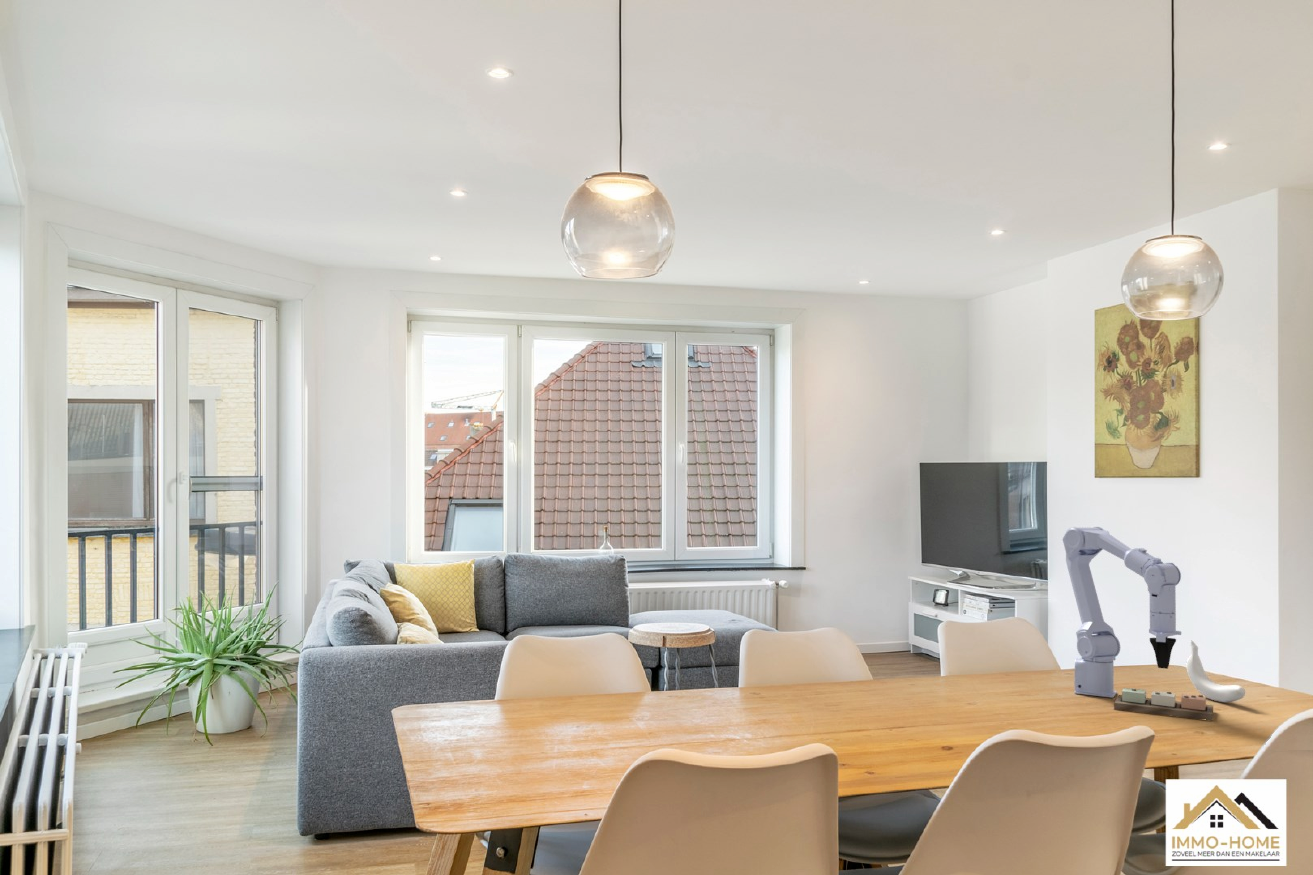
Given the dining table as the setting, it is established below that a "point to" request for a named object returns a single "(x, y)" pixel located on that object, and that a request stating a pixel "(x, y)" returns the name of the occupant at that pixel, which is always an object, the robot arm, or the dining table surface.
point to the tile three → (1193, 702)
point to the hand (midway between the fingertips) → (1163, 667)
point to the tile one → (1134, 695)
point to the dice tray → (1164, 709)
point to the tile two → (1163, 698)
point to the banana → (1210, 681)
